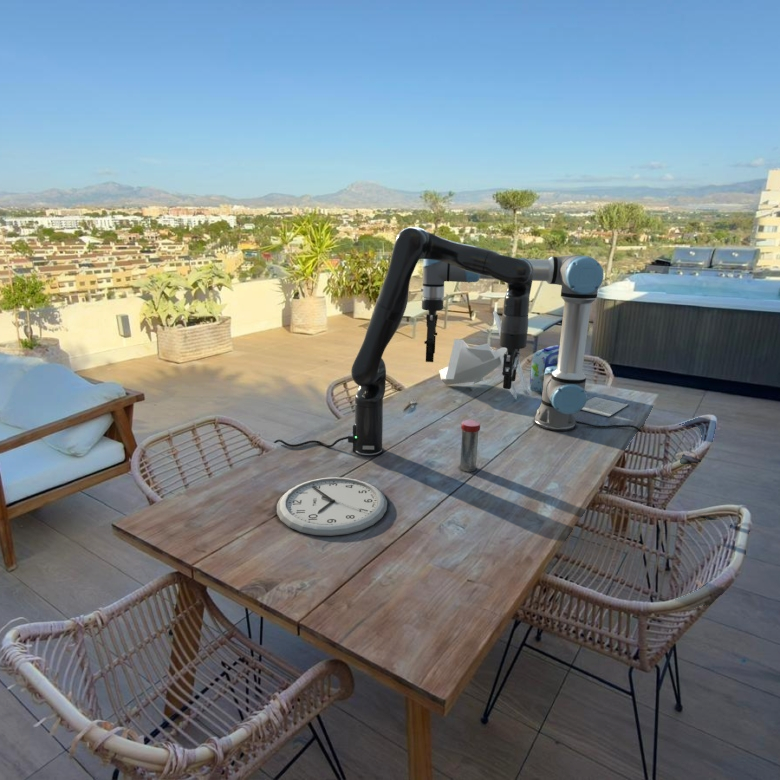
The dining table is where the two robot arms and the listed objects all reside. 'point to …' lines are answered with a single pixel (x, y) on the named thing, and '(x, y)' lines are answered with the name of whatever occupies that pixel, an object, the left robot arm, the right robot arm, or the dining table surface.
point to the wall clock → (331, 506)
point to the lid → (470, 426)
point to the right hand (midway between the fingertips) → (430, 357)
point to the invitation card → (603, 406)
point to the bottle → (469, 451)
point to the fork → (411, 403)
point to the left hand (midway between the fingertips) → (509, 384)
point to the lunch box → (542, 366)
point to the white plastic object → (477, 363)
